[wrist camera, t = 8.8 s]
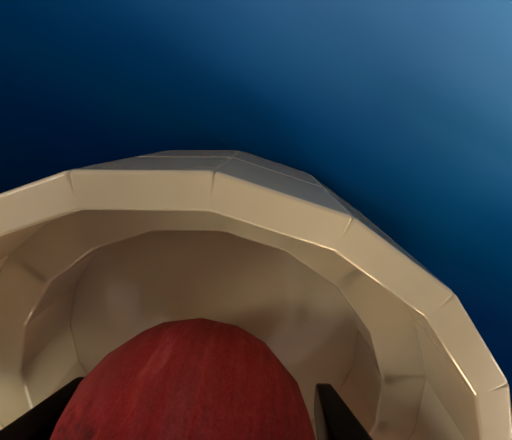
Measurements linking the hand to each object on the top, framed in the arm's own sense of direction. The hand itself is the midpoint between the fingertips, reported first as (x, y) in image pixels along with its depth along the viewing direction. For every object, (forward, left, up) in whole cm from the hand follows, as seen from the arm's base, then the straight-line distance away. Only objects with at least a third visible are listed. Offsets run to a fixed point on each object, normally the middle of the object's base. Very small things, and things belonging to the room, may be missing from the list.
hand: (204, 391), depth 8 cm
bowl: (0, 0, -2) cm, 3 cm away
